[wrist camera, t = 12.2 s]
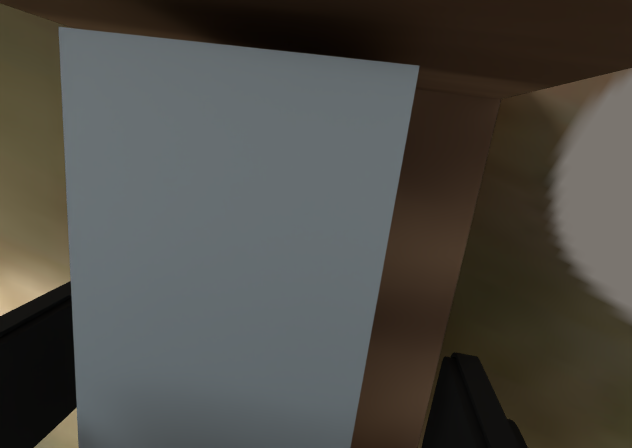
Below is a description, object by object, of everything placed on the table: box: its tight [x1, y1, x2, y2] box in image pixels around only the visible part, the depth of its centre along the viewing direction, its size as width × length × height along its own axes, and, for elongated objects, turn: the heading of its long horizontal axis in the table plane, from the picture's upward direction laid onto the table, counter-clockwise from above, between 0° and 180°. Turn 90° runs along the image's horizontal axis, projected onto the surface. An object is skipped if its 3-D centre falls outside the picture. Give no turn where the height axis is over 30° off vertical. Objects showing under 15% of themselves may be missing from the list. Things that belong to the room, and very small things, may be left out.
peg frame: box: [0, 0, 632, 448], centre depth 11 cm, size 19×12×11 cm, turn 173°
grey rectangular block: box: [59, 27, 420, 448], centre depth 10 cm, size 14×5×6 cm, turn 173°
